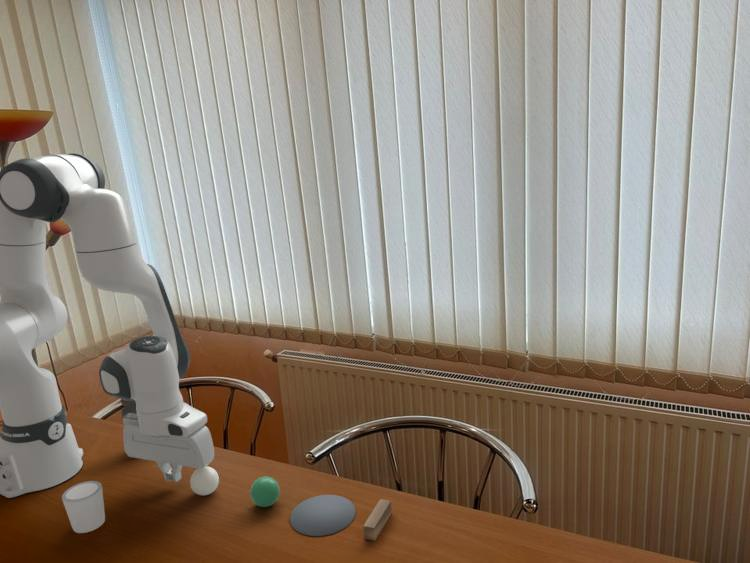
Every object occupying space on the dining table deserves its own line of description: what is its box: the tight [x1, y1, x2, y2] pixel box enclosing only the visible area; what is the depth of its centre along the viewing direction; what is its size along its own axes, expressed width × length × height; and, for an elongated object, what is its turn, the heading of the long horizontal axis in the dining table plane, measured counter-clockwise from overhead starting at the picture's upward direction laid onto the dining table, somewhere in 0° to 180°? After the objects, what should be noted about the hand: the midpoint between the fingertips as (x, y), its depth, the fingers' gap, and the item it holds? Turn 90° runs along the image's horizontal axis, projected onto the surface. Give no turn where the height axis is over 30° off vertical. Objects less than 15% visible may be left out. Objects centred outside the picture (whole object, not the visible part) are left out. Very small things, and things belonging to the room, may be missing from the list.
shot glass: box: [61, 480, 106, 534], centre depth 114 cm, size 7×7×7 cm
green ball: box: [249, 475, 281, 508], centre depth 115 cm, size 6×6×6 cm
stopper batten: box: [362, 498, 393, 542], centre depth 107 cm, size 2×8×2 cm, turn 158°
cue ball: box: [189, 465, 220, 496], centre depth 121 cm, size 6×6×6 cm
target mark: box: [289, 494, 356, 537], centre depth 111 cm, size 12×12×1 cm
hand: (173, 479), depth 124 cm, fingers closed
